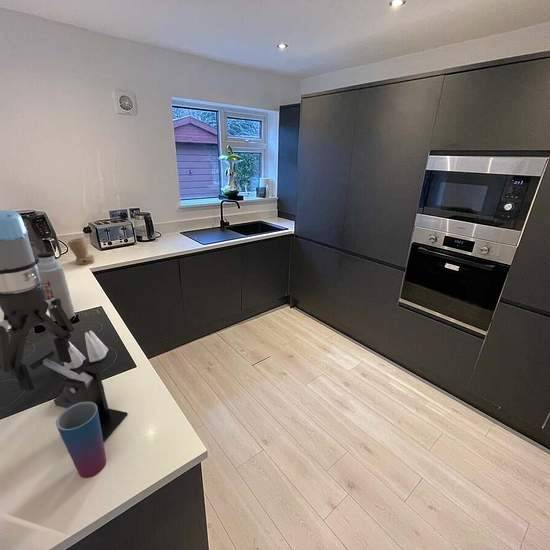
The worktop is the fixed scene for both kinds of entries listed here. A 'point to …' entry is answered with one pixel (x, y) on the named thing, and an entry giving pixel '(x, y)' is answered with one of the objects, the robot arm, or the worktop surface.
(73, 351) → the shaker set
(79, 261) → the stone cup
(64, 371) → the toaster lever
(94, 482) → the worktop surface
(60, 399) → the button housing
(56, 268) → the thermos bottle
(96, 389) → the bracket
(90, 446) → the cup
